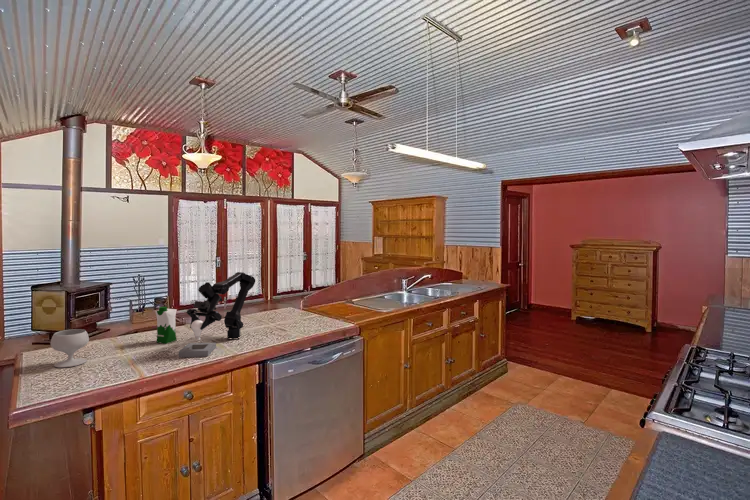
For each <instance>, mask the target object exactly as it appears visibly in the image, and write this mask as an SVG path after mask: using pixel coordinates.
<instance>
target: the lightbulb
mask: <svg viewBox="0 0 750 500" xmlns="http://www.w3.org/2000/svg"><path fill="white" fill-rule="evenodd" d="M203 322H204V320H201V319H200V320H195V321H193V322H192V324H191V323H190V325H191V328H190V329H191V331H192V332H193V335H194V341H196V342H199V341H201V336H202V332H203V331H204V329H202V330H201V329H200V328H201V326H202V324H203Z"/></svg>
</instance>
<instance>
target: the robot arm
mask: <svg viewBox="0 0 750 500" xmlns="http://www.w3.org/2000/svg"><path fill="white" fill-rule="evenodd" d="M237 283H239V287H240V289H239V292H238V293H237V296H236V298H235V301H234V304H233V307H231V310H229V311H227V312H226V313H225V316H224V317H223V318H224V320H223V322H224V326H225V328H226V329H227V333H226V334H227V335H226V337H227V339H228V338H238V337H240V336H241V337H242V335H241V334H242V333H241V329H242V328H244V323H243V322H242V316H241V315H242V314H241V311H242V309H243V306H244V304H245V300H246V298H247V296H248V293H249V291H250V290H252V289H253V287H254V285H255V284H256V279H255V277H254V276H252V275H250V274H249V275H248V274H246V273H244V272H241V271H239V272H235V273H234V274H233V275H231V276H230V277H228V278H226V279H225V280H223V281H219V282H216V283H213V284H211V283H210V282H205V283H203V284H202V285H200V286H199V287H198V289H197V290H198V292H199V294H201V295H202V297H204V299H206V300H204V301H198V300H194V303H193V308H188V309H187V311H186V314H187V315H188V316H189V317H190V318H191V320H190V321H191V322H190V324H189V329H191V324H192V322H193V321H195V320H201V319H200V317H205V319H204V320H203V324H202V326H201V328H200V329H201V330H202V329H203V330H204V329H206V328H207V327H208V326H210V325H212V324H213V323H215V322H221V320H222V315H221V313H220V312H219V311H217V304H218V303H219V302H223V298H222V295H226V294H227V292H228V291H229V290H230V288H231V287H232V286H234V285H235V284H237ZM203 330H202V331H203ZM241 337H240V338H241Z"/></svg>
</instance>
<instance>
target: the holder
mask: <svg viewBox="0 0 750 500" xmlns="http://www.w3.org/2000/svg"><path fill="white" fill-rule="evenodd" d="M215 348H216V349H217V342H191V343H190V342H189V343H187V344H186V345H185V346H183V347H182V348H181V349H180V350H179V351H177V352H178V358H204V357H205V358H207V357H206V356H208V357H210V355H211V354H212V353H213V352H214V351H215V350H216V349H215ZM214 349H215V350H214ZM213 350H214V351H213ZM212 351H213V352H212ZM211 352H212V353H211Z"/></svg>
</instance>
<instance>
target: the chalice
mask: <svg viewBox="0 0 750 500" xmlns="http://www.w3.org/2000/svg"><path fill="white" fill-rule="evenodd" d="M89 341H90V337H89V334H88V332H87V331H86V329H84V328H83V329H82V328H74V329H64V330H60V331H57V332H54V333H53V335H52V337H51V339H50V347H51V348H52V349H53V350H55V351H57V352H60V353H64V354H66V355H67V359H65V360H61V361H58V362H56V363H55V364H54V365H53V367H55V368H70V367H76V366H80V365H83V364H85V363H87V362H88V359H87V358H83V357H82V358H81V357H79V358H74V354H75V353H76V352H77V351H79V350H81V349H82V348H84V347H85V346H86V345H88V343H89Z"/></svg>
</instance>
